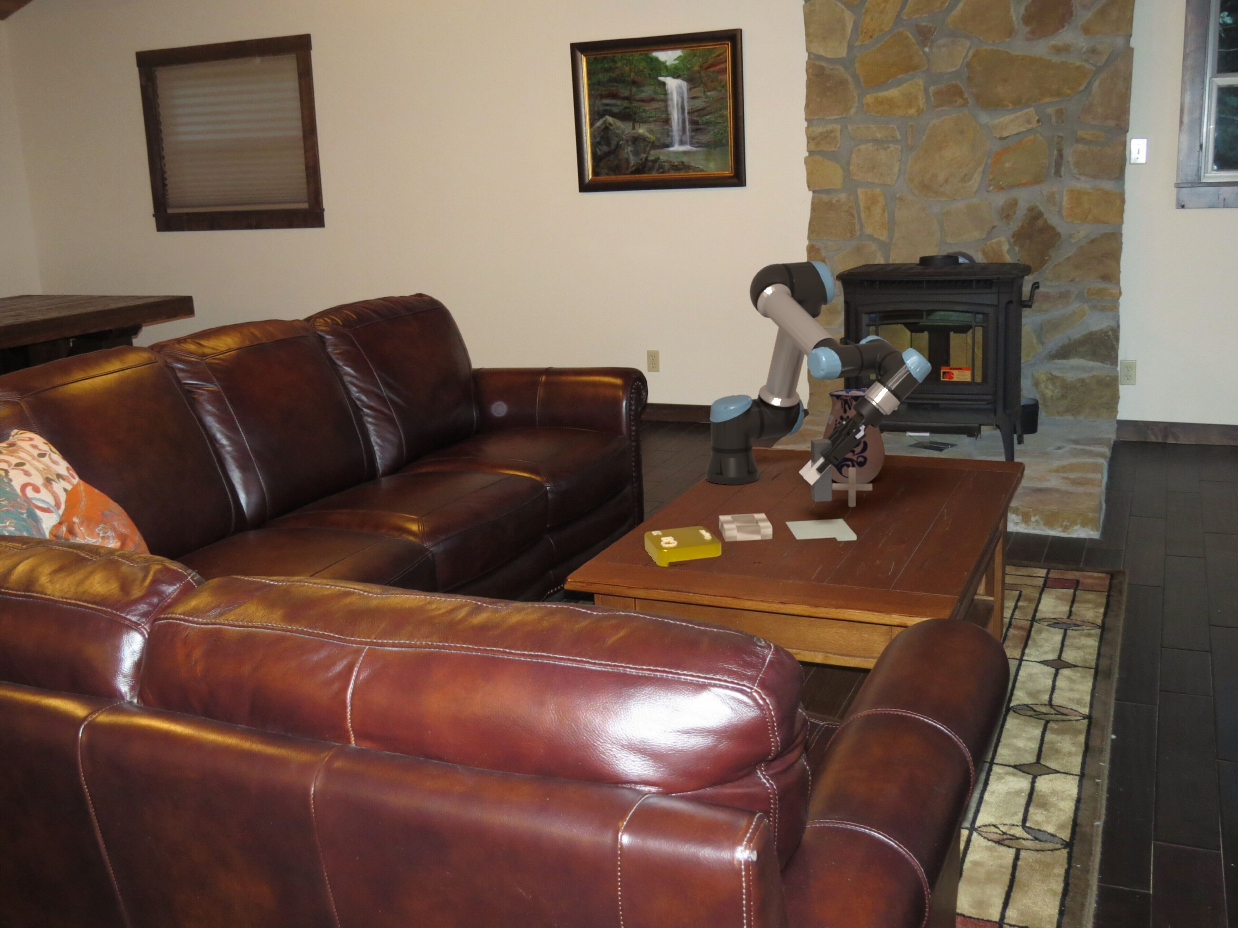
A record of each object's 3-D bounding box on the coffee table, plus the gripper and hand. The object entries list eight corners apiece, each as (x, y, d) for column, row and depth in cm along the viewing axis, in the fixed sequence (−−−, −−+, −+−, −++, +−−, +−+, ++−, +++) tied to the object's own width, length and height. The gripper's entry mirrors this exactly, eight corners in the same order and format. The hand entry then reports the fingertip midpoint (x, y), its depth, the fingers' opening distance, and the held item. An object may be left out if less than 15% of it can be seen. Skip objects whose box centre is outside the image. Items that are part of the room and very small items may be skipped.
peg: (811, 497, 268) (810, 439, 265) (827, 496, 269) (827, 438, 265) (814, 501, 264) (814, 443, 261) (831, 500, 265) (831, 442, 261)
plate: (785, 525, 276) (785, 521, 275) (842, 522, 276) (842, 518, 276) (796, 543, 262) (796, 539, 262) (856, 539, 262) (856, 535, 262)
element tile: (724, 561, 253) (723, 541, 252) (659, 569, 250) (658, 548, 249) (704, 542, 267) (703, 522, 266) (643, 549, 264) (642, 529, 263)
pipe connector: (872, 511, 284) (872, 473, 282) (831, 511, 286) (832, 473, 284) (871, 500, 294) (872, 463, 291) (832, 500, 296) (832, 463, 293)
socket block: (719, 531, 273) (718, 515, 273) (764, 528, 274) (764, 513, 273) (725, 545, 263) (725, 528, 262) (772, 542, 263) (772, 526, 262)
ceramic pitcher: (814, 487, 309) (814, 397, 303) (830, 468, 328) (830, 384, 322) (878, 491, 303) (879, 399, 297) (891, 472, 321) (892, 385, 315)
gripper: (896, 423, 254) (824, 498, 258) (876, 409, 271) (808, 480, 274) (873, 401, 253) (801, 477, 256) (854, 389, 269) (786, 460, 273)
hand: (805, 478), depth 265 cm, fingers closed on peg, 4 cm apart
